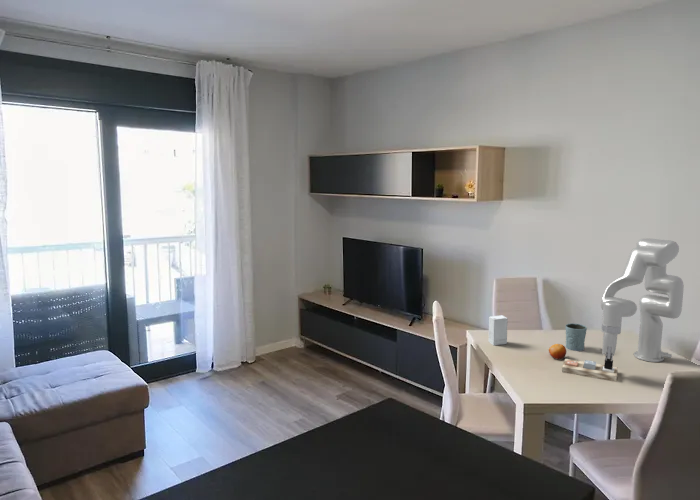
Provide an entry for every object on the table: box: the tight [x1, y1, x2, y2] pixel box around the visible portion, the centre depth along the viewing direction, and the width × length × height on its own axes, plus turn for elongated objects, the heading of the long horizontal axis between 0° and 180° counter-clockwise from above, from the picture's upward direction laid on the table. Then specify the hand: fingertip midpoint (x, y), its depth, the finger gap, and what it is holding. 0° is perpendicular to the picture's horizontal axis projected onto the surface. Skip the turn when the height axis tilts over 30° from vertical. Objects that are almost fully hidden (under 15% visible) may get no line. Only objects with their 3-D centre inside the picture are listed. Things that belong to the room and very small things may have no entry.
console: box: [561, 358, 618, 382], centre depth 223 cm, size 22×12×2 cm, turn 59°
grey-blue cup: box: [565, 322, 588, 352], centre depth 254 cm, size 10×10×12 cm
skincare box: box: [488, 314, 509, 346], centre depth 262 cm, size 8×6×15 cm
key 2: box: [583, 359, 597, 370], centre depth 223 cm, size 5×5×3 cm
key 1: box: [602, 366, 614, 373], centre depth 219 cm, size 5×5×3 cm
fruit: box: [548, 343, 567, 360], centre depth 241 cm, size 8×8×8 cm
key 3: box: [566, 360, 578, 367], centre depth 227 cm, size 5×5×3 cm
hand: (608, 368), depth 219 cm, fingers closed
